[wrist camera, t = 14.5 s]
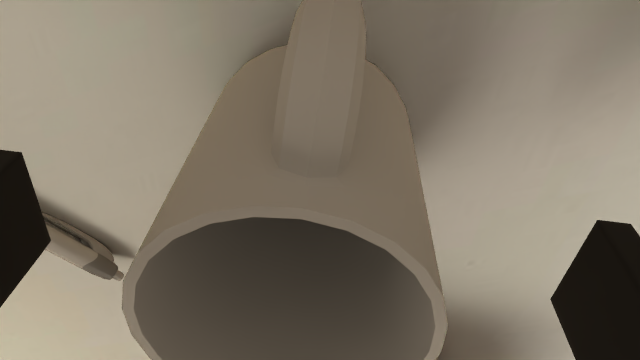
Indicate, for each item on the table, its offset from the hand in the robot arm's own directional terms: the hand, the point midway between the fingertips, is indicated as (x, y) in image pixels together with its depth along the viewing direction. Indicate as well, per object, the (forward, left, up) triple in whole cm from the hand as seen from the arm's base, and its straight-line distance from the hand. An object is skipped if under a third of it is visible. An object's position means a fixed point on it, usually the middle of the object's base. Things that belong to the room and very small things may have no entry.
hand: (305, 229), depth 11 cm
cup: (0, 0, -7) cm, 7 cm away
